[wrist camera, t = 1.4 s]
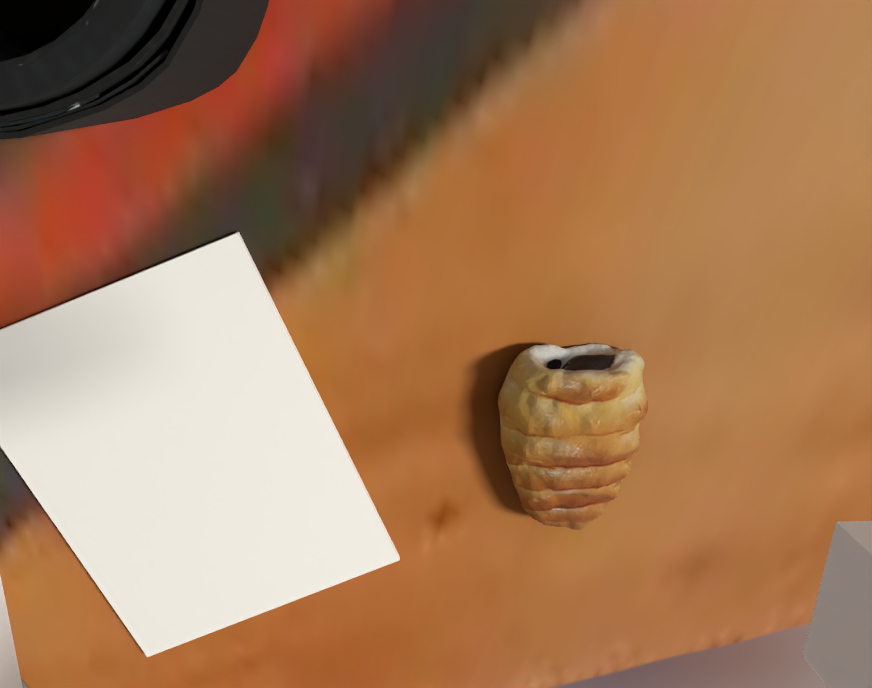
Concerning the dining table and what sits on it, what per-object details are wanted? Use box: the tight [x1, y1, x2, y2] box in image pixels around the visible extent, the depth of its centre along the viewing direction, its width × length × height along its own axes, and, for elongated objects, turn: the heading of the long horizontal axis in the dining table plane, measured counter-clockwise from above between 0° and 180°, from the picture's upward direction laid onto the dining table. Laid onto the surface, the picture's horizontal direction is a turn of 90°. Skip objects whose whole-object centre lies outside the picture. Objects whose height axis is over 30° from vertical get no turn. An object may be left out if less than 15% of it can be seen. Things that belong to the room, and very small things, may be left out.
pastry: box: [498, 344, 648, 530], centre depth 34 cm, size 9×7×4 cm
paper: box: [0, 232, 400, 657], centre depth 34 cm, size 18×14×1 cm
